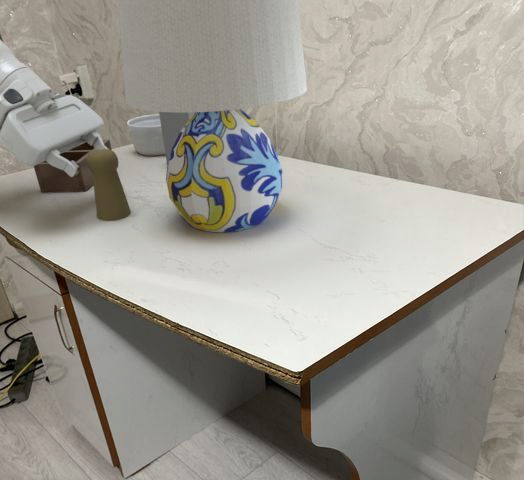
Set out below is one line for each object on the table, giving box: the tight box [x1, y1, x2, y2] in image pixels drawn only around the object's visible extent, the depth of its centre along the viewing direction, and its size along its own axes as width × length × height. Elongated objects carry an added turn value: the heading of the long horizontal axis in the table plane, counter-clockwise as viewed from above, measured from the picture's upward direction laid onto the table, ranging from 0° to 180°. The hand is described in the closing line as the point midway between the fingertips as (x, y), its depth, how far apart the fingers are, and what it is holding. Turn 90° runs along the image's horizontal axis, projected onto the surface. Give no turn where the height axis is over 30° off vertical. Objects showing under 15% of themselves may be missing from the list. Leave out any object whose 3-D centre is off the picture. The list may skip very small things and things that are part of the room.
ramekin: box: [126, 113, 166, 157], centre depth 129 cm, size 13×13×7 cm
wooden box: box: [33, 139, 113, 193], centre depth 113 cm, size 10×18×6 cm, turn 174°
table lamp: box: [117, 0, 308, 233], centre depth 80 cm, size 27×27×40 cm
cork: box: [86, 149, 132, 221], centre depth 92 cm, size 6×6×11 cm
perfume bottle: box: [158, 112, 195, 165], centre depth 114 cm, size 7×7×18 cm
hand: (92, 164), depth 91 cm, fingers open, 8 cm apart
